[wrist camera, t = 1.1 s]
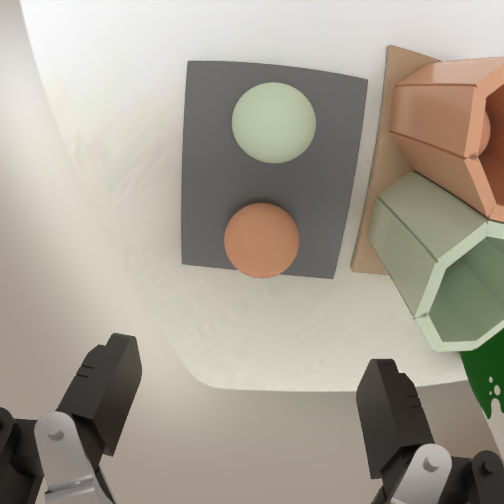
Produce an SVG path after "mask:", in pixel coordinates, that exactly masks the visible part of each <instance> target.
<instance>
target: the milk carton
mask: <svg viewBox="0 0 504 504" xmlns="http://www.w3.org/2000/svg"><path fill="white" fill-rule="evenodd" d="M459 352H460V355H461V358H462V361H463V365H464V368H465V371H466V374H467V377H468V380H469V382H470V385H471V387H472V390H473V392H474V394H475V397H476V399H477V401H478V403H479V405H480V407H481V409H482V411H483V414H484V416H485V418H486V420H487V423H488V425H489V427H490V430H491V432H492V434H493V437H494V439H495V442H496V444H497V446H498V449H499V451H500V453H501V456H502V458H503V460H504V328H503V329H502V330H500V331H499V332H498V333H496V334H495V335H494V336H493V337H491V338H490V339H489V340H487V341H486V342H485V343H483V344H482V345H480V346H479V347H478V348H476V349H475V348H474V349H473V350H468V351H459Z"/></svg>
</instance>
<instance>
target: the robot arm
mask: <svg viewBox="0 0 504 504" xmlns="http://www.w3.org/2000/svg"><path fill="white" fill-rule="evenodd" d="M76 374H77V375H76V376H75V377H74V379H73V380H72V382H71V384H70V386H69V388H68V389H67V391H66V393H65V395H64V397H63V399H62V401H61V403H60V405H59V406H58V408H57V409H56V411H55V412H49V413H46V414H44V415H43V416H41V417H40V418H39V420H25V419H14V418H13V417H12V415H11V414H10V413H9V412H8V411H7V410H6V409H4V408H1V407H0V504H35V501H36V498H37V495H38V492H39V489H40V486H41V483H42V480H43V477H45V479H46V482H47V486H48V491H47V492H45V501H46V504H117V502H116V500H115V497H114V495H113V493H112V491H111V489H110V487H109V484H108V482H107V480H106V477H105V475H104V473H103V470H102V468H101V465H100V460H101V457H102V454H105V455H108V456H112V457H113V455H114V452H115V449H116V446H117V444H118V441H119V438H120V435H121V432H122V429H123V427H124V424H125V421H126V419H127V416H128V413H129V410H130V408H131V405H132V402H133V400H134V397H135V394H136V392H137V389H138V387H139V384H140V381H141V376H142V365H141V361H140V356H139V351H138V345H137V340H136V338H135V337H134V336H130V335H124V334H118V333H113V334H112V335H111V337H110V339H109V340H108V342H107V344H106V346H104V345H97V346H96V347H95V348H94V349H92V350H91V351H90V352H89V353H88V354H87V356H86V357H85V359H84V361H83V363H82V366H81V367H80V368H79V370H78V371H77V373H76ZM356 401H357V407H358V412H359V417H360V422H361V427H362V431H363V437H364V442H365V447H366V453H367V458H368V464H369V470H370V476H371V479H379V478H382V480H383V485H382V486H381V488H380V489H379V491H378V493H377V494H376V496H375V498H374V499H373V501H372V502H371V504H469V503H470V504H504V467H503V464H502V461H501V459H500V458H499V456H498V455H497V454H496V453H494V452H492V451H487V450H485V451H481V452H479V453H478V454H477V455H475V456H474V457H473V458H472V459H469V458H460V457H453V456H450V455H449V453H448V451H447V450H446V449H444V448H443V447H442V446H440V445H437V444H435V442H434V440H433V437H432V434H431V431H430V428H429V425H428V422H427V419H426V416H425V413H424V411H423V408H422V407H421V402H420V399H419V398H418V394H417V391H416V389H415V386H414V383H413V382H412V381H411V380H410V379H409V378H408V376H407V375H406V374H405V373H399V372H398V369H397V366H396V364H395V361H394V360H393V359H371V360H370V362H369V364H368V366H367V369H366V371H365V373H364V375H363V377H362V379H361V382H360V384H359V386H358V389H357V395H356Z"/></svg>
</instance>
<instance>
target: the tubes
mask: <svg viewBox="0 0 504 504" xmlns="http://www.w3.org/2000/svg"><path fill="white" fill-rule="evenodd" d="M485 111H486V113H487V115H488V118H489V122H490V138H489V142H488V144H487V146H486V148H485V150H484V151H483V152H482V153H481V154H480V155H479V156H478V151H479V145H480V139H481V133H482V127H483V120H484V113H485ZM452 263H453V264H452ZM451 264H452V265H451ZM448 266H449V267H448ZM447 267H448V268H447ZM351 270H352V272H361V273H372V274H383V275H390V277H391V278H392V280H393V282H394V284H395V285H396V287H397V289H398V291H399V293H400V294H401V296H402V298H403V300H404V302H405V303H406V305H407V307H408V309H409V311H410V313H411V314H412V316H413V318H414V320H415V322H416V323H417V325H418V327H419V329H420V330H421V332H422V334H423V335H424V337H425V339H426V341H427V342H428V344H429V346H430V348H431V349H432V351H434V352H448V351H468V350H473V349H474V348H475V349H476V348H478V347H479V346H480V345H482V344H483V343H485V342H486V341H487V340H489V339H490V338H491V337H493V336H494V335H495V334H496V333H498V332H499V331H500V330H502V329H503V328H504V57H490V58H476V59H465V60H455V61H447V62H442V61H439V60H437V59H434V58H431V57H428V56H425V55H422V54H419V53H416V52H413V51H410V50H407V49H403V48H400V47H396V46H393V45H389V46H388V49H387V61H386V71H385V81H384V90H383V99H382V107H381V114H380V121H379V128H378V135H377V142H376V148H375V154H374V160H373V166H372V171H371V177H370V182H369V187H368V193H367V198H366V203H365V207H364V212H363V217H362V222H361V226H360V231H359V235H358V239H357V244H356V248H355V252H354V256H353V260H352V264H351Z"/></svg>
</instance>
